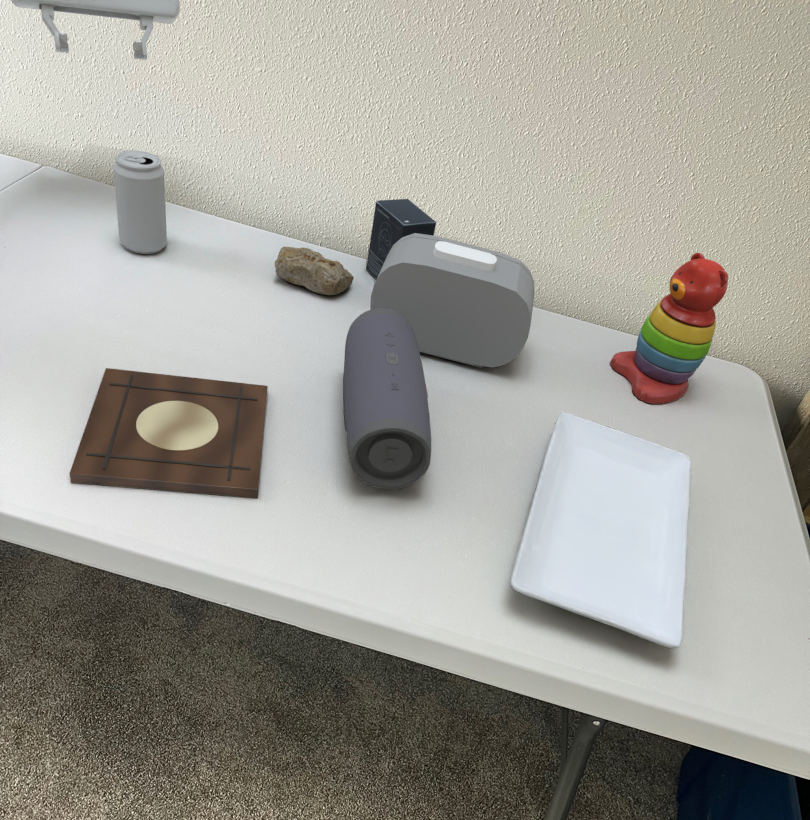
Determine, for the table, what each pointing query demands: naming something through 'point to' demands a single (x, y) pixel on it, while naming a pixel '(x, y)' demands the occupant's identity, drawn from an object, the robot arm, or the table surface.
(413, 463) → the bluetooth speaker
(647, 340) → the stacking bear
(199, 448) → the board
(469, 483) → the table surface
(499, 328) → the grey rounded block
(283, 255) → the rock
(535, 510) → the tray
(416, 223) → the box
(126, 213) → the beverage can
